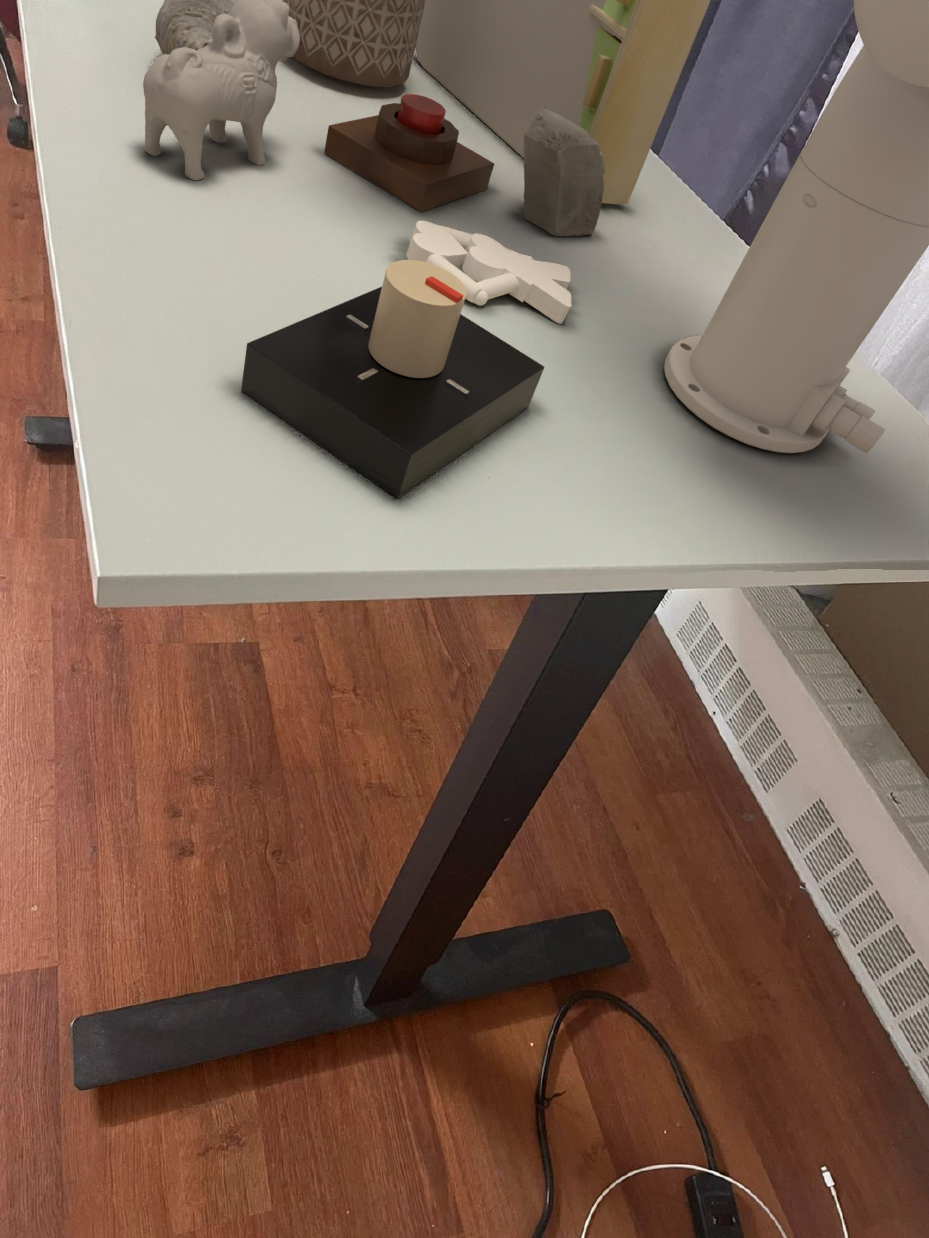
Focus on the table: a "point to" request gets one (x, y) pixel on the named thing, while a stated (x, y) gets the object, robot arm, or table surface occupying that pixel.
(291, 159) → the table surface
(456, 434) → the panel
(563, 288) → the white abstract figurine
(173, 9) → the seashell
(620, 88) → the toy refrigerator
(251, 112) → the dog figurine
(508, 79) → the grey rectangular panel
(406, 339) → the knob
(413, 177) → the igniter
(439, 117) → the button
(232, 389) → the table surface
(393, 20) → the planter
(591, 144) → the mineral specimen
